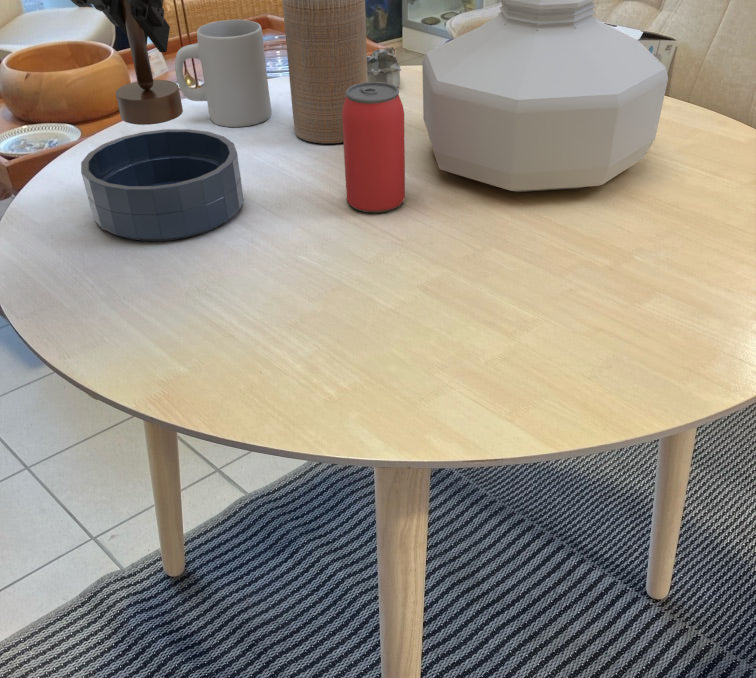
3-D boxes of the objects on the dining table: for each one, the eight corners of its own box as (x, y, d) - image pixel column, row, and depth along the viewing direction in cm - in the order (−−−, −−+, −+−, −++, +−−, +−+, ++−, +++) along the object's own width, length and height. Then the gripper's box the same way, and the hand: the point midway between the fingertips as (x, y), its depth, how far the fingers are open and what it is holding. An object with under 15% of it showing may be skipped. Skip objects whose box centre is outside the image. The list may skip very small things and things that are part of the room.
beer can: (384, 185, 100) (381, 75, 92) (416, 205, 96) (416, 92, 88) (336, 199, 98) (328, 88, 89) (366, 220, 93) (361, 105, 85)
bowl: (75, 203, 99) (60, 151, 95) (207, 169, 105) (199, 118, 101) (125, 259, 88) (111, 203, 84) (268, 217, 95) (262, 163, 91)
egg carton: (396, 75, 129) (396, 45, 126) (402, 92, 124) (402, 61, 121) (326, 79, 129) (324, 49, 126) (328, 96, 123) (327, 65, 120)
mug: (267, 102, 122) (257, 16, 114) (275, 123, 116) (266, 33, 108) (182, 112, 120) (166, 25, 112) (186, 133, 114) (170, 43, 106)
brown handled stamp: (112, 111, 90) (66, -82, 78) (169, 99, 92) (133, -91, 81) (133, 129, 86) (89, -72, 74) (192, 115, 88) (158, -81, 77)
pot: (637, 222, 91) (674, 29, 78) (388, 194, 98) (384, 12, 85) (661, 128, 110) (693, -40, 98) (450, 110, 117) (455, -48, 105)
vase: (305, 116, 117) (285, -135, 98) (376, 119, 116) (368, -135, 97) (285, 143, 110) (259, -121, 91) (360, 147, 109) (349, -122, 90)
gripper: (-70, -91, 66) (84, 72, 89) (106, -91, 63) (217, 77, 87) (-58, -186, 66) (93, 2, 89) (118, -190, 63) (226, 4, 87)
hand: (154, 38), depth 88 cm, fingers closed on brown handled stamp, 2 cm apart
